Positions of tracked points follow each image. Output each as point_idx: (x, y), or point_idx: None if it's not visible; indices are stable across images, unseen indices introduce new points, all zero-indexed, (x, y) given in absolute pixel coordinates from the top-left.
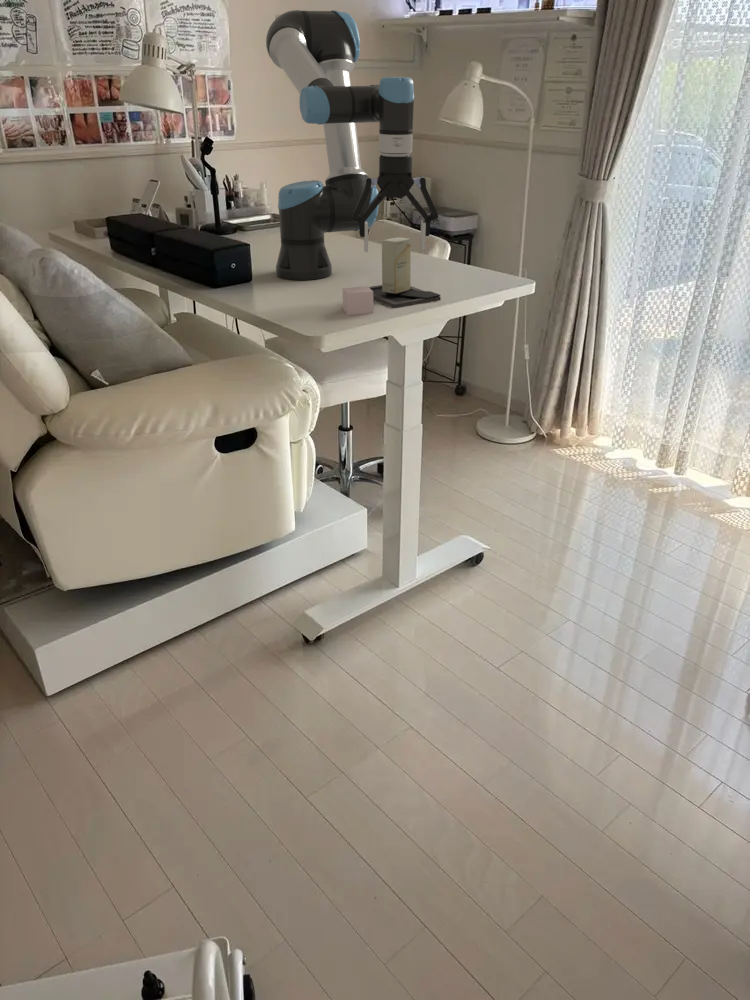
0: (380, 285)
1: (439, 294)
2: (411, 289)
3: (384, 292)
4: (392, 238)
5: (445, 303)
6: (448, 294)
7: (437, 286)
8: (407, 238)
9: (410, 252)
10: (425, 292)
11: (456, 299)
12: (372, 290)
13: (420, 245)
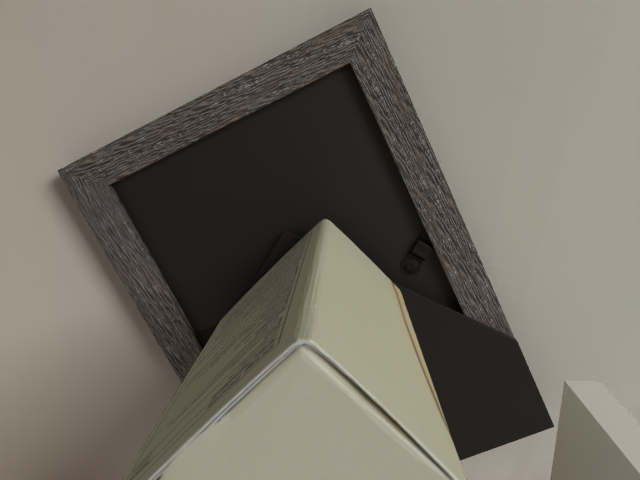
0: (227, 93)
1: (549, 419)
2: (419, 215)
3: (244, 241)
4: (227, 435)
5: (550, 475)
6: (628, 294)
7: (624, 73)
8: (432, 475)
9: (439, 406)
10: (481, 355)
11: (636, 407)
12: (173, 180)
13: (580, 412)
